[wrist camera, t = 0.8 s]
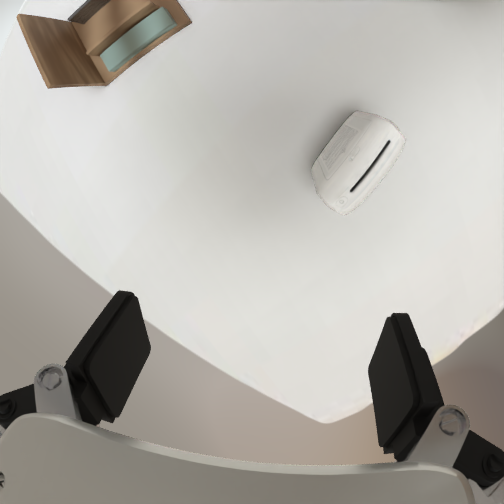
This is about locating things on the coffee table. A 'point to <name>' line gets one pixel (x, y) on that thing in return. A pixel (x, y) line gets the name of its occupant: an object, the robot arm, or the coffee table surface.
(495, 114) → the coffee table surface
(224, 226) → the coffee table surface
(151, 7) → the shelf
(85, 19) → the bookend
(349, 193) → the photo printer
